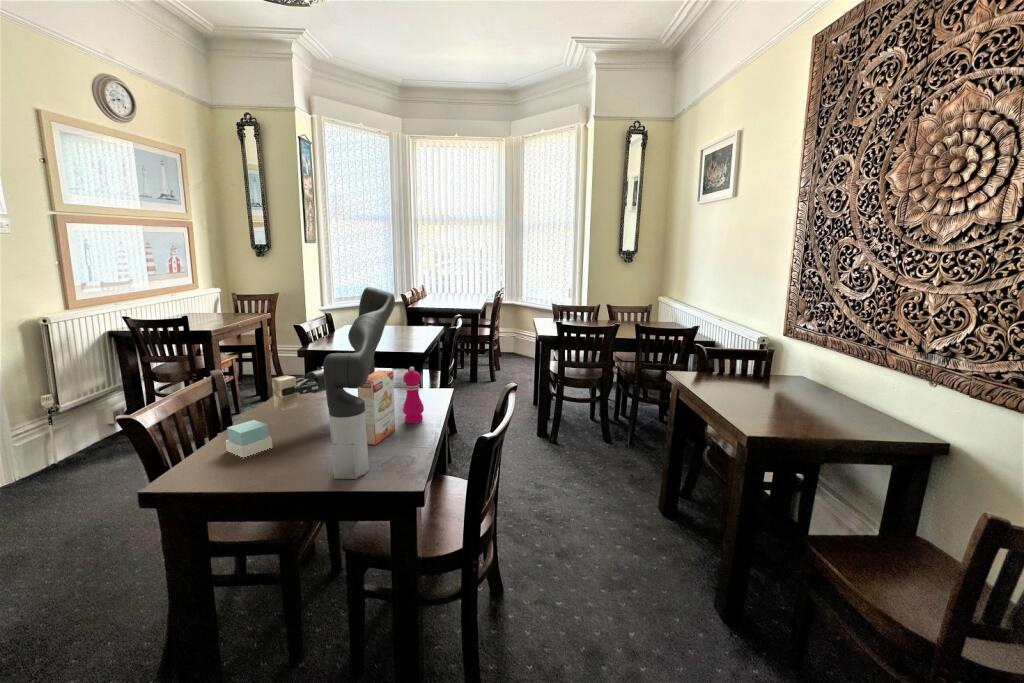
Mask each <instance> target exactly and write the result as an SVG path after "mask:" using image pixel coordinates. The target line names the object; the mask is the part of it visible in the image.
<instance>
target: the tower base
mask: <svg viewBox="0 0 1024 683" xmlns="http://www.w3.org/2000/svg"><path fill="white" fill-rule="evenodd" d="M225 447H226V448H225V449H226V452H227V451H228V452H231V453H233V454H235V455H234V456H236V455H238V456H240V457H239V458H241V457H243V458H242V459H245V458H244V457H246V458H248V457H247V456H249V457H251V456H250V455H252V456H254V455H256V453H257V454H259V453H258V452H260V453H262V452H261V451H263V452H265V451H268V450H270V449H269V448H271V449H273V440H272V436H270V435H269V437H268V438H265V439H262V440H259V441H256V442H253V443H250V444H247V445H244V446H241V445H239V444H236V443H234V442H232V441H230V440H229V439H226V440H225ZM267 449H268V450H267ZM264 450H265V451H264ZM228 452H227V453H228ZM231 453H230V454H231ZM233 454H232V455H233ZM253 454H254V455H253ZM238 456H237V457H238Z"/></svg>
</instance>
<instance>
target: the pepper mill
mask: <svg viewBox="0 0 1024 683" xmlns="http://www.w3.org/2000/svg"><path fill="white" fill-rule="evenodd" d="M408 369H409V370H408V371H406V372H405V373H404V374H403V382H404V383H405V387H404V388H405V390H406V398H405V401H404V403H403V408H402V412H403V413H404V415H405V416H404V421H405V423H406V422H407V423H406V424H409V423H416V422H420V421H422V420H424V418H423V417H424V416H423V414H422V413H423V412H424V410H425V406H424V403H423V401H422V399H421V397H420V392H419V389H420V388H421V387H420V382H421V380H422V379H421V378H422V377H421V374H420V372H418V371H417V370H415V367H414V366H410V367H409V368H408ZM422 422H423V421H422ZM420 423H421V422H420ZM416 424H417V423H416Z"/></svg>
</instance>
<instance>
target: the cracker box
mask: <svg viewBox="0 0 1024 683" xmlns="http://www.w3.org/2000/svg"><path fill="white" fill-rule="evenodd" d="M394 382H395V381H394V371H393V370H383V369H382V370H381V369H380V370H379V369H378V370H376V371H375V372H374V373H372V374H370V375H369V376H368V379H367V381H366V383H365V384H364V385H363V386H362V387H358V388H357V397H359V398H361V399H363V400H364V403H365V415H366V432H367V445H370V446H371V445H373V446H376V445H378V444H379V443H380V442H382V441H383V440H384V439H386V437H388V436H389V435H390V434H392V433H393V432H394V431H395V430H396V413H395V412H396V411H395V409H396V408H395V384H394Z"/></svg>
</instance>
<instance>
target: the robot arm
mask: <svg viewBox="0 0 1024 683" xmlns="http://www.w3.org/2000/svg"><path fill="white" fill-rule="evenodd" d="M360 296H361V297H360V300H359V308H358V317H357V318H356V319H355V320H354V321H353V322H352V324H351V327H350V328H349V331H348V334H347V335H348V342H349V343H350V347H352V349H353V350H354V352H344V353H343V352H342V353H341V352H335V353H333V352H332V353H329V354H327V355H326V356H325V357H324V361H323V368H321V369H317V370H313V371H309V372H307V373H306V375H305V376H304V377H301V378H297V379H296V386H293V387H294V388H293V387H289V388H285V389H282V390H281V393H282V396H287V395H291V394H297V395H304V394H318V393H322V392H325V394H326V404H327V407H328V408H327V409H328V418H329V432H330V433H329V434H330V444H331V445H330V446H331V456H332V457H331V458H332V469H333V471H332V472H333V479H335V480H346V479H347V480H357V479H358V478H359V477H362V476H363V475H366V474H367V473H368V472H369V469H370V466H369V452H368V451H369V449H368V444H367V432H366V415H365V403H364V400H363V399H361V398H359V397H358V395H357V396H356V395H353V394H351V393H350V392H348V391H346V390H345V389H358V387H362V386H363V385H364V384H365V383H366V381H367V379H368V376H369V375H370V374H372V373H374V372H376V371H375V370H376V368H375V367H376V366H375V357H374V356H375V352H376V350H377V348H378V346H379V343H380V341H381V338H383V337H382V335H383V333H384V330H385V328H386V327H385V326H386V323H387V322H388V321H389V318H390V316H391V315H392V312H393V311H394V308H395V304H396V299H395V295H394V294H393V293H391V292H390V291H389V292H388V291H387V290H382V289H379V288H376V287H372V286H367V287H365V288H364V289H363V291H362V293H361V295H360ZM270 391H271V392H270V393H271V394H273V387H272V386H271V387H270Z"/></svg>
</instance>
